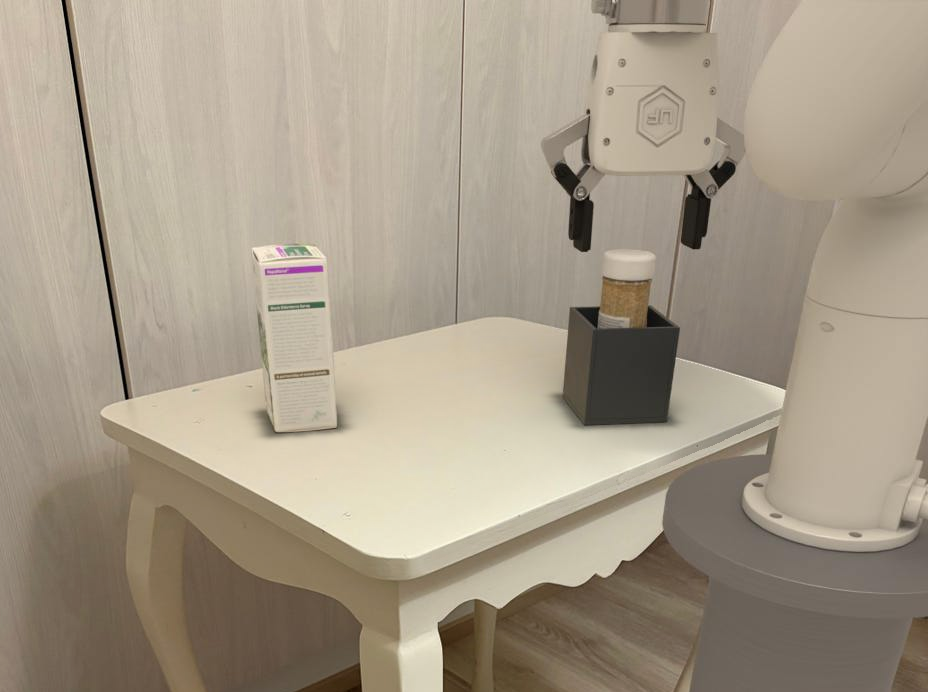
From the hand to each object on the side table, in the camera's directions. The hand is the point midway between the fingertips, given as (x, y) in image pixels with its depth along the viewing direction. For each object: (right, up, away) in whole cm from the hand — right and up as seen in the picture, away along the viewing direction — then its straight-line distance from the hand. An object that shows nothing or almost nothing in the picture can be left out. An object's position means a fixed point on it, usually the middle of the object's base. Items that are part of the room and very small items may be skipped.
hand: (636, 248), depth 85 cm
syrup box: (-29, -14, +4) cm, 33 cm away
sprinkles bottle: (-1, -12, +8) cm, 14 cm away
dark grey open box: (-1, -12, +8) cm, 14 cm away
